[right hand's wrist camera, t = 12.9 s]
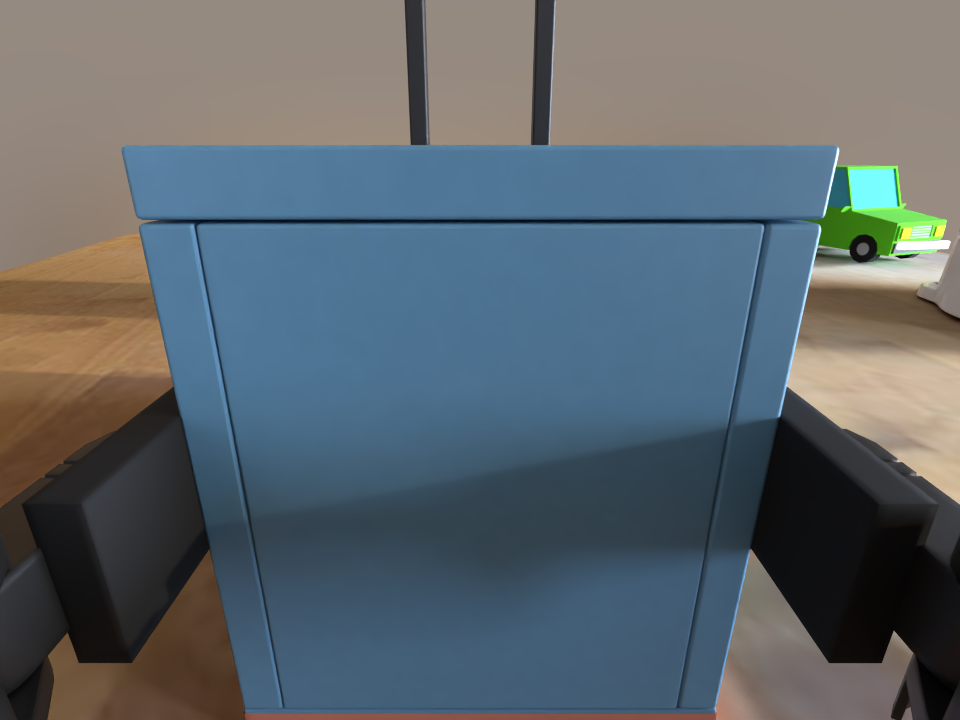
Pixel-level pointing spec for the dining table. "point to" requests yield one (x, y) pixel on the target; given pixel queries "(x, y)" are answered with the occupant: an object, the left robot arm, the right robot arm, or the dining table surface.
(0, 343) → the dining table surface
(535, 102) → the lid
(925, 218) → the toy car
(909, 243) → the left robot arm
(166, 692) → the dining table surface
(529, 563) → the chest
